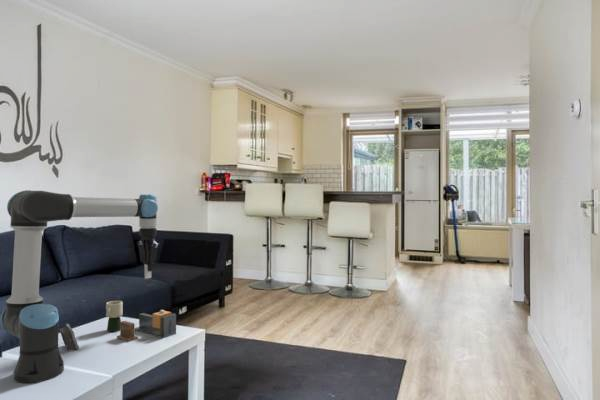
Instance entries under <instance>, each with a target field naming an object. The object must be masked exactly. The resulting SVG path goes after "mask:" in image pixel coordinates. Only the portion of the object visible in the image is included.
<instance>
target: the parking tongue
mask: <svg viewBox="0 0 600 400" xmlns="http://www.w3.org/2000/svg"><path fill="white" fill-rule="evenodd" d="M119 332H120V334H119V335H117V336H116V339H118V340H121V341H123V342H124V341H125V342H127V343H129V342H132V341H134V340H135V341H136V340H138V339H139V336H138V335H135V323H134V322H130V321H127V320H122V321H121V322H120V331H119Z"/></svg>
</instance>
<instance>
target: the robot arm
mask: <svg viewBox="0 0 600 400" xmlns="http://www.w3.org/2000/svg"><path fill="white" fill-rule="evenodd" d="M6 205H7V206H6V210H7V214H8V215H9V216H10V228H11V229H12V230H14V242H13V243H14V244H13V245H14V246H13V260H12V261H13V264H12V265H13V266H12V280H11V294H10V295H11V296H10V297H8V298H7V299H6V301H5V308H4V309H3V311H2V313H1V315H0V325H1V327H2V328H3V329H4V330H5V332H6V333H8V334H9V335H10V336H14V337H16V339H17V338H18V339H19V356H18V360H17V362H16V365H15V366H14V367H15V368H14V370H13V380H14V381H15V382H17V383H21V384H22V383H23V384H25V383H27V384H30V383H39V382H43V381H46V380H49V379H53V378H55V377H58V376H59V375H61V374H62V373H63V372H64V370H65V363H64V360H63V357H62V355H61V353H60V349H59V319H60V316H59V310H58V308H57V307H56V306H54V305H52V304H49V303H47V304H45V303H44V298H43V296H41V295H40V275H41V258H42V241H43V231H44V230H45V229H47V227H48V222H49V223H50V222H56V221H70V220H71V219H72V218H111V217H112V218H122V217H123V218H124V217H125V218H127V217H129V218H131V217H132V218H133V217H134V218H136V217H137V218H139V220H138V223H139V225H138V226H139V229H138V230H139V231H138V232H139V236H140V237H141V238H140V240H139V241H137V242H136V244H137V247H138V253H139V259H140V263H142V264H143V271H144V279H145V280H147V279H152V271H153V264H155V263H156V262H157V261H156V260H157V253H158V248H159V246H160V243H159V242H157V241H156V236H157V228H156V227H157V213H158V210H159V209H158V203H157V195H155V194H140V195H139V196H138V198H120V197H119V198H116V197H115V198H113V197H87V196H86V197H80V196H72V194H69V193H58V192H52V191H46V190H45V191H44V190H30V189H29V190H22V191H19V192H17V193H16V192H15V194H13V195H12V196H11V197H10V198H9V200H8V202H7V204H6Z"/></svg>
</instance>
